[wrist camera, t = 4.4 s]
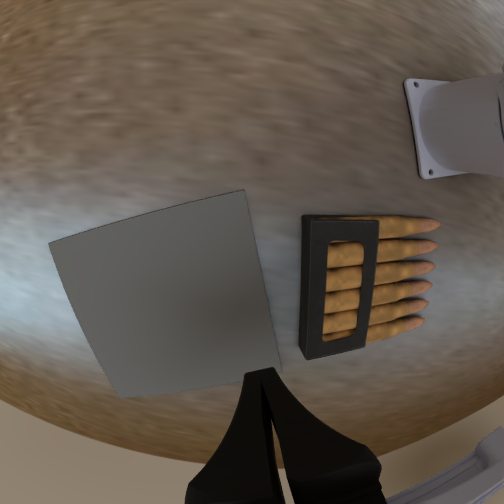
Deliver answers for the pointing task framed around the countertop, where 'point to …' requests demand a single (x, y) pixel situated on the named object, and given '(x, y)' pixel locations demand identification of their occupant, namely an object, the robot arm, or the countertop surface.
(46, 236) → the countertop surface
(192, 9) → the countertop surface
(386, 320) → the ammunition clip
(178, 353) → the mat
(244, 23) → the countertop surface
